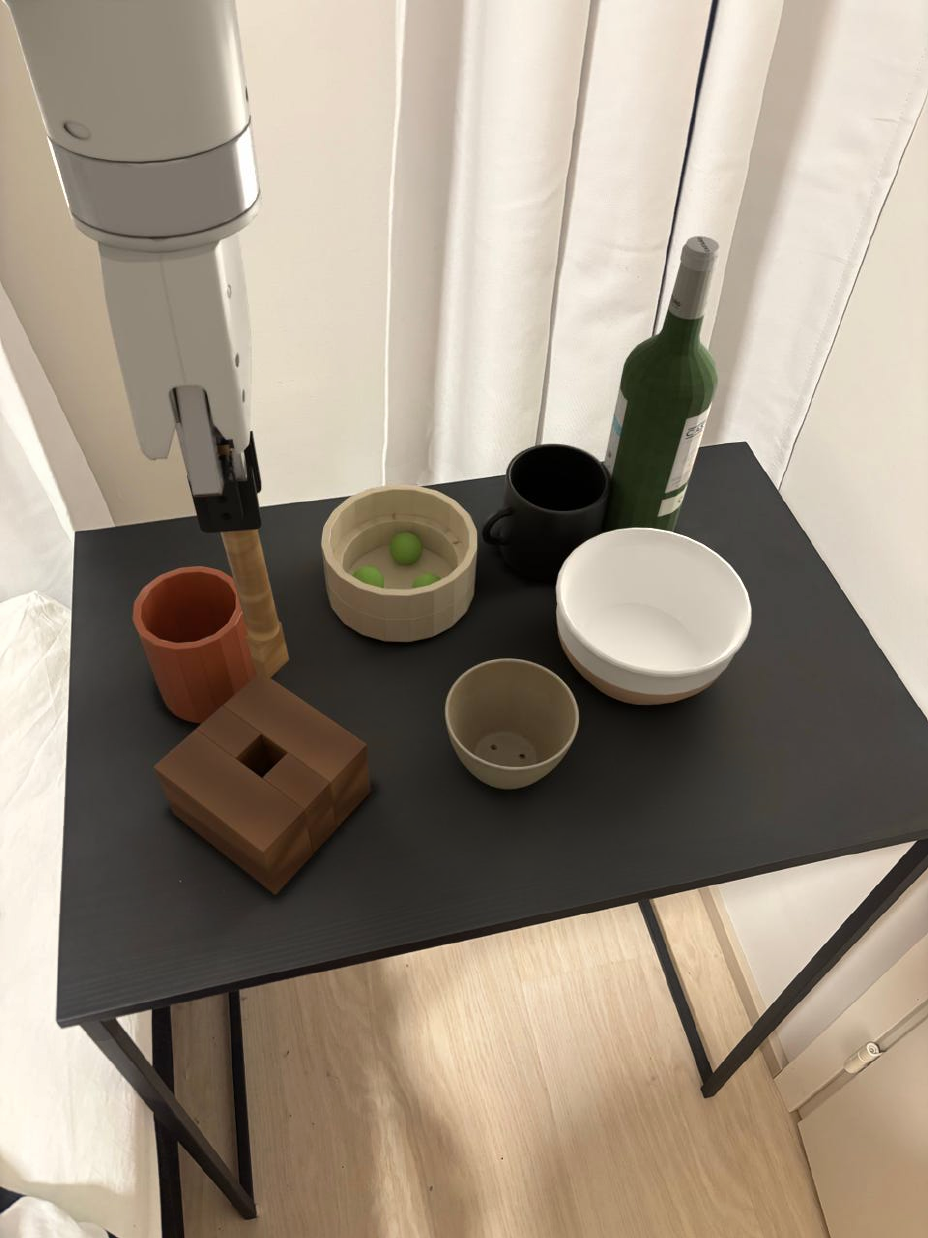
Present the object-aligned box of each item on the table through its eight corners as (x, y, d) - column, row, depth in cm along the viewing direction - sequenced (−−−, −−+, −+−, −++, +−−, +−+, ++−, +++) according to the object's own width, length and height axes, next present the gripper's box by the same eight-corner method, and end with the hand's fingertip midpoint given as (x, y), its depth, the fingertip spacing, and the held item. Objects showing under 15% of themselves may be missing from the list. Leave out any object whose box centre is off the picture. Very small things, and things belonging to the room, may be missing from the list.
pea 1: (369, 612, 82) (368, 589, 80) (344, 596, 84) (342, 573, 81) (391, 592, 84) (390, 569, 82) (365, 577, 85) (364, 554, 83)
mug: (459, 534, 90) (462, 463, 83) (567, 503, 94) (579, 433, 87) (500, 602, 85) (507, 533, 78) (613, 567, 88) (630, 497, 81)
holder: (275, 895, 66) (262, 852, 61) (173, 814, 70) (153, 767, 65) (370, 791, 72) (367, 744, 67) (271, 721, 76) (260, 670, 70)
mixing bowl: (412, 672, 79) (412, 620, 74) (297, 599, 84) (289, 545, 79) (501, 581, 86) (507, 528, 81) (390, 518, 91) (389, 464, 86)
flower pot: (588, 793, 73) (602, 745, 67) (470, 834, 70) (475, 787, 64) (535, 695, 78) (544, 643, 73) (425, 729, 76) (425, 678, 70)
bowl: (759, 708, 78) (788, 651, 72) (584, 750, 75) (599, 694, 69) (680, 572, 88) (700, 512, 82) (521, 604, 85) (529, 544, 79)
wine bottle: (676, 562, 89) (766, 274, 66) (594, 560, 89) (656, 270, 66) (664, 505, 94) (745, 219, 71) (587, 503, 94) (643, 215, 71)
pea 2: (408, 576, 85) (408, 553, 83) (383, 561, 86) (382, 538, 84) (428, 557, 87) (428, 535, 85) (403, 543, 88) (403, 520, 86)
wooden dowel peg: (272, 685, 61) (212, 448, 45) (250, 670, 61) (183, 433, 46) (295, 663, 62) (244, 425, 46) (273, 649, 62) (215, 410, 47)
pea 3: (431, 618, 82) (431, 596, 80) (405, 603, 83) (404, 580, 81) (451, 598, 84) (452, 576, 82) (425, 583, 85) (425, 561, 83)
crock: (209, 741, 74) (185, 666, 67) (140, 689, 77) (109, 612, 69) (280, 676, 79) (265, 599, 71) (212, 629, 82) (191, 551, 74)
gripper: (85, 87, 41) (171, 421, 55) (28, 281, 31) (151, 628, 45) (257, 84, 42) (298, 414, 56) (256, 272, 32) (306, 615, 46)
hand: (232, 507), depth 50 cm, fingers closed on wooden dowel peg, 2 cm apart
